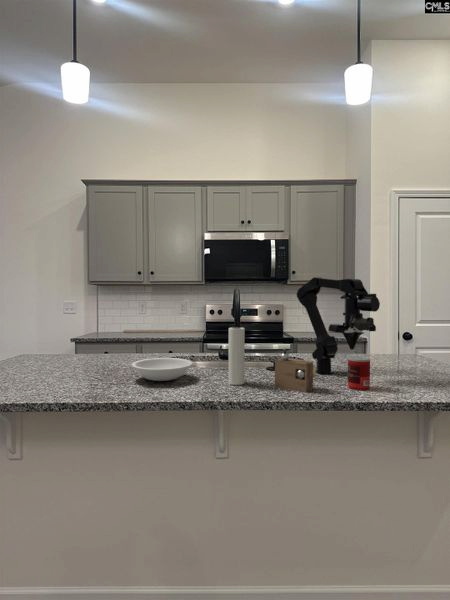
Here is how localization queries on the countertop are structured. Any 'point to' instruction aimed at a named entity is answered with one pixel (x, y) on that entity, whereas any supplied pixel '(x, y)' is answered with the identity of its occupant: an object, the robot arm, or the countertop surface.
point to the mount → (293, 375)
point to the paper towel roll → (236, 355)
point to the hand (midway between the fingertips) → (352, 349)
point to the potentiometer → (284, 356)
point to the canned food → (358, 373)
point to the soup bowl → (162, 368)
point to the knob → (301, 373)
